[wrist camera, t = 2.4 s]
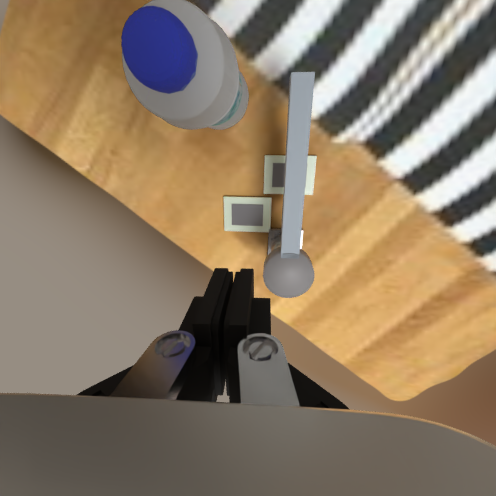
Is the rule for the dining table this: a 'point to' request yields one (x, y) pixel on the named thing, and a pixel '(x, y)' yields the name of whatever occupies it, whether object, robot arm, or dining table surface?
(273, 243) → the post
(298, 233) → the bar
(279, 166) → the label tile
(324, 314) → the dining table surface
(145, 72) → the bottle
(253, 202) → the label tile
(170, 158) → the dining table surface
